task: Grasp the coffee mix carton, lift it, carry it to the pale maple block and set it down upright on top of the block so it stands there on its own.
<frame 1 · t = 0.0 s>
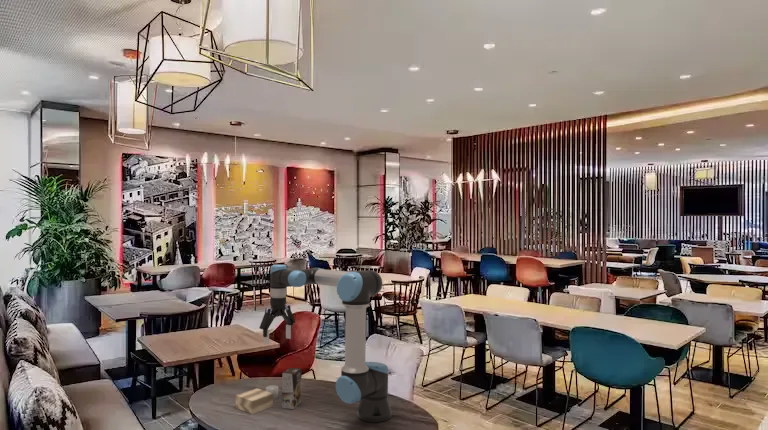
hand: (277, 341, 234), 28 cm above the table, fingers open, 13 cm apart
coffee box: (291, 405, 227), on the table
maple block: (254, 407, 224), on the table
white rounded dome: (272, 397, 236), on the table
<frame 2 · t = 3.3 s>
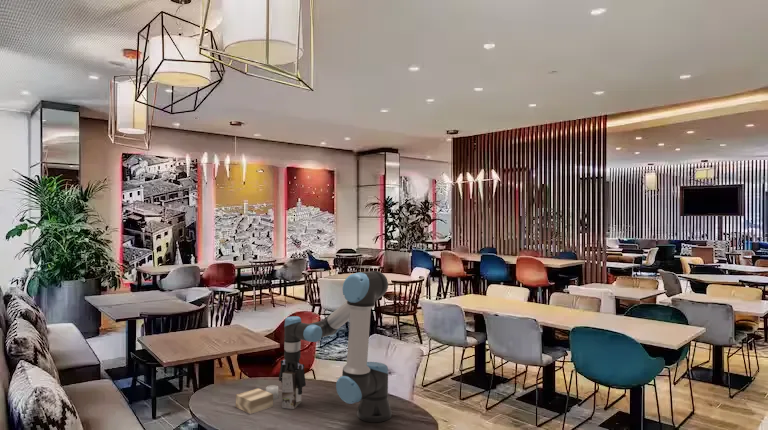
hand: (291, 398, 227), 3 cm above the table, fingers closed on coffee box, 8 cm apart
coffee box: (291, 405, 227), on the table, touching gripper
everything else where it was.
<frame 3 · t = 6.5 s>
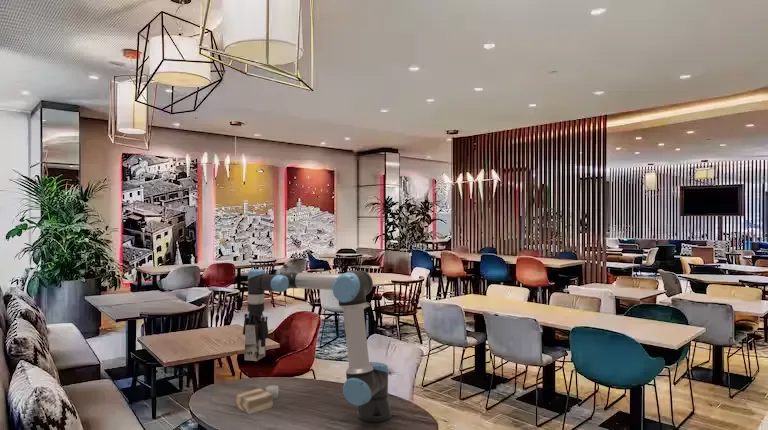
hand: (255, 352, 225), 25 cm above the table, fingers closed on coffee box, 8 cm apart
coffee box: (255, 358, 225), point 22 cm above the table, touching gripper
everything else where it was.
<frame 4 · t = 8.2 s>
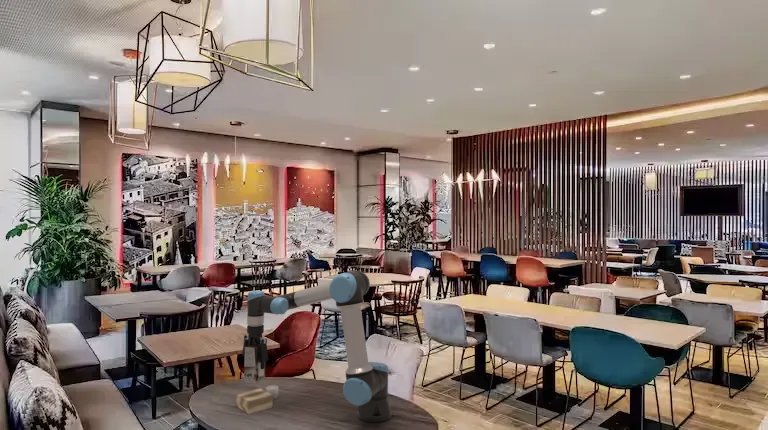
hand: (254, 373, 224), 15 cm above the table, fingers closed on coffee box, 8 cm apart
coffee box: (254, 380, 224), point 12 cm above the table, touching gripper
everything else where it was.
when the fingers open (10 cm above the table, at t = 9.6 s): coffee box drops 1 cm, resting on maple block.
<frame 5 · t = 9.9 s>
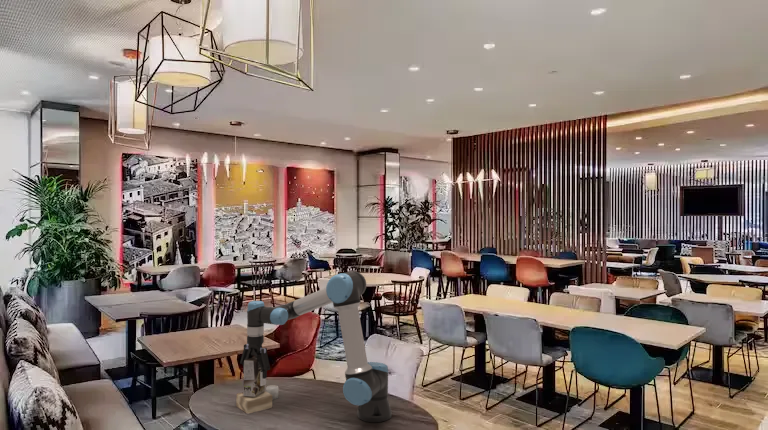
hand: (254, 382, 224), 11 cm above the table, fingers open, 11 cm apart
coffee box: (254, 394, 224), point 6 cm above the table, touching maple block
maple block: (254, 407, 224), on the table, touching coffee box
everything else where it was.
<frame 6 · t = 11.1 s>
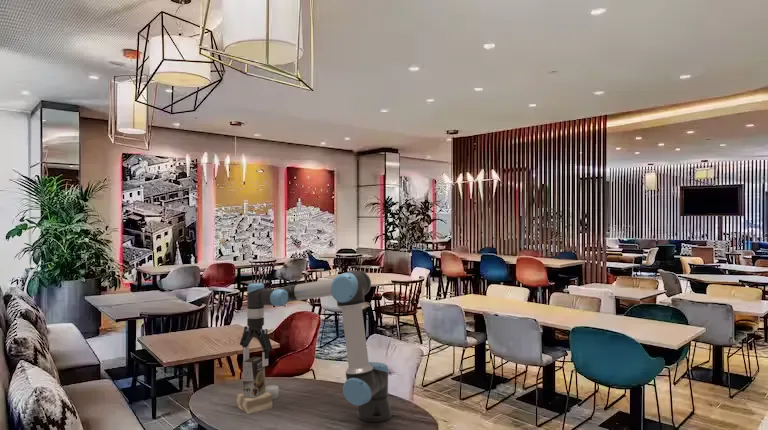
hand: (255, 363, 224), 20 cm above the table, fingers open, 13 cm apart
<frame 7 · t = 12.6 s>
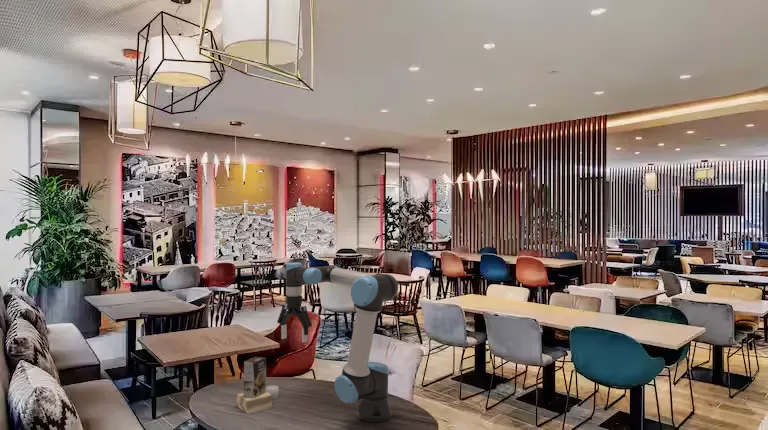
hand: (294, 340, 230), 29 cm above the table, fingers open, 13 cm apart
nothing on the table moved.
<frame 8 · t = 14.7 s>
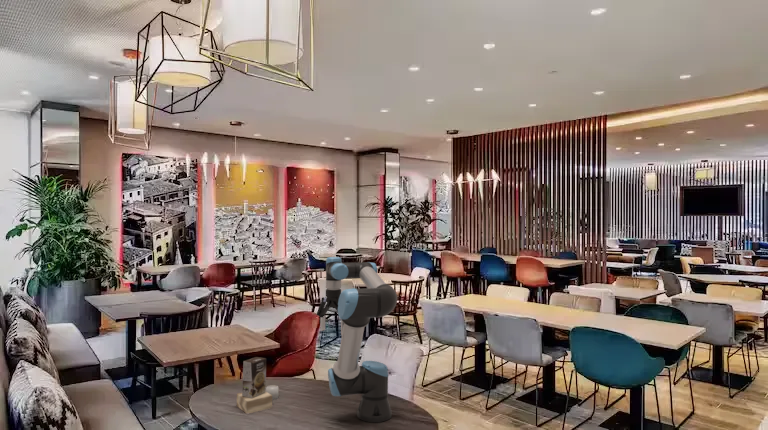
hand: (332, 332, 238), 32 cm above the table, fingers open, 13 cm apart
at the end: coffee box inside the target area on the maple block (0.3 cm from its centre), point 5.8 cm above the maple block's base; coffee box tilted 0°; the gripper is holding nothing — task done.
